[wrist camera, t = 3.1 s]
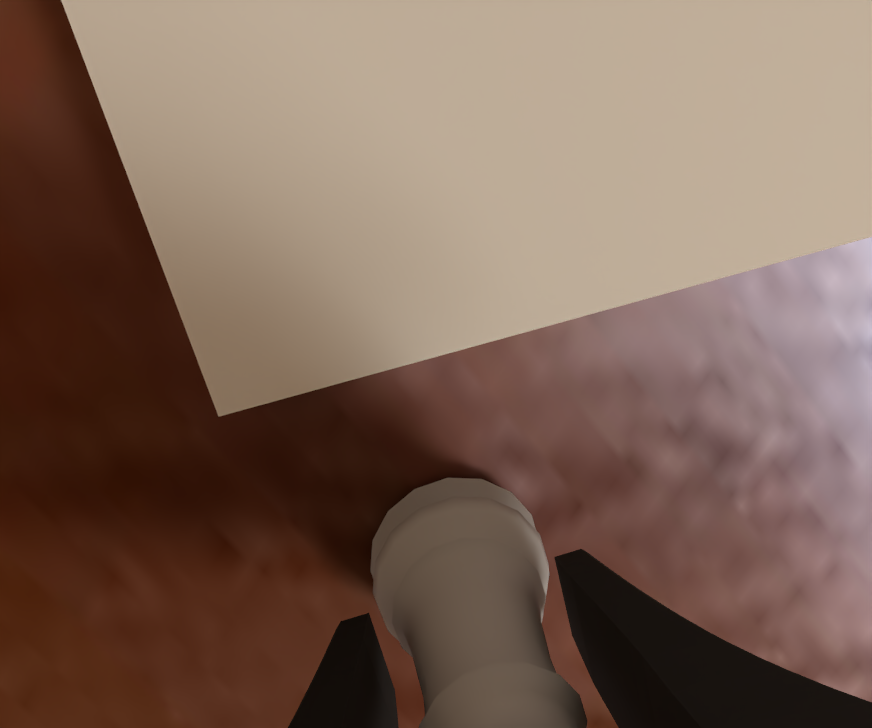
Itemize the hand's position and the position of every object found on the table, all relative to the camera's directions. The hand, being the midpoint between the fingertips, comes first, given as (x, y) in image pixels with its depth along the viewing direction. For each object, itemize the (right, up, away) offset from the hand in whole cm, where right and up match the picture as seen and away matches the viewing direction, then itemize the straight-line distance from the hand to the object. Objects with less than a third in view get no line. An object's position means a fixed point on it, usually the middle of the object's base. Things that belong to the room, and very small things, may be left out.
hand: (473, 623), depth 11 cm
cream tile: (+1, +12, +1) cm, 12 cm away
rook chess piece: (0, +1, +3) cm, 3 cm away
